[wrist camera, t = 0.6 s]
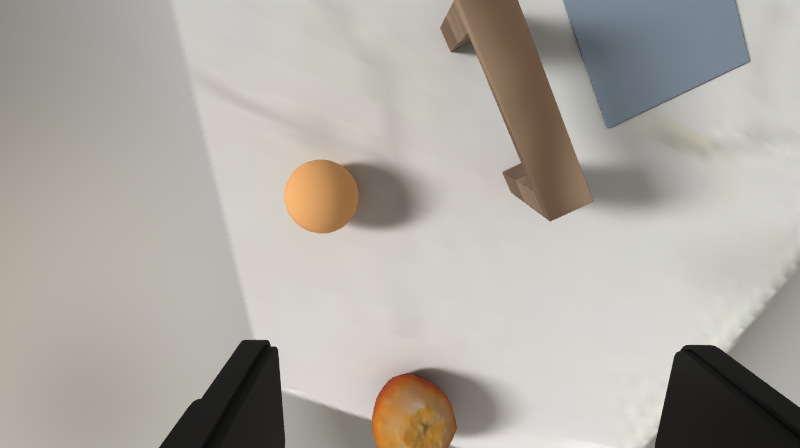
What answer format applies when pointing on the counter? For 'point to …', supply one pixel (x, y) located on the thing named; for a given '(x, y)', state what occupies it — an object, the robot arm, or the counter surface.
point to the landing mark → (653, 49)
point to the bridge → (522, 104)
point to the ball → (321, 196)
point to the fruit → (412, 415)
